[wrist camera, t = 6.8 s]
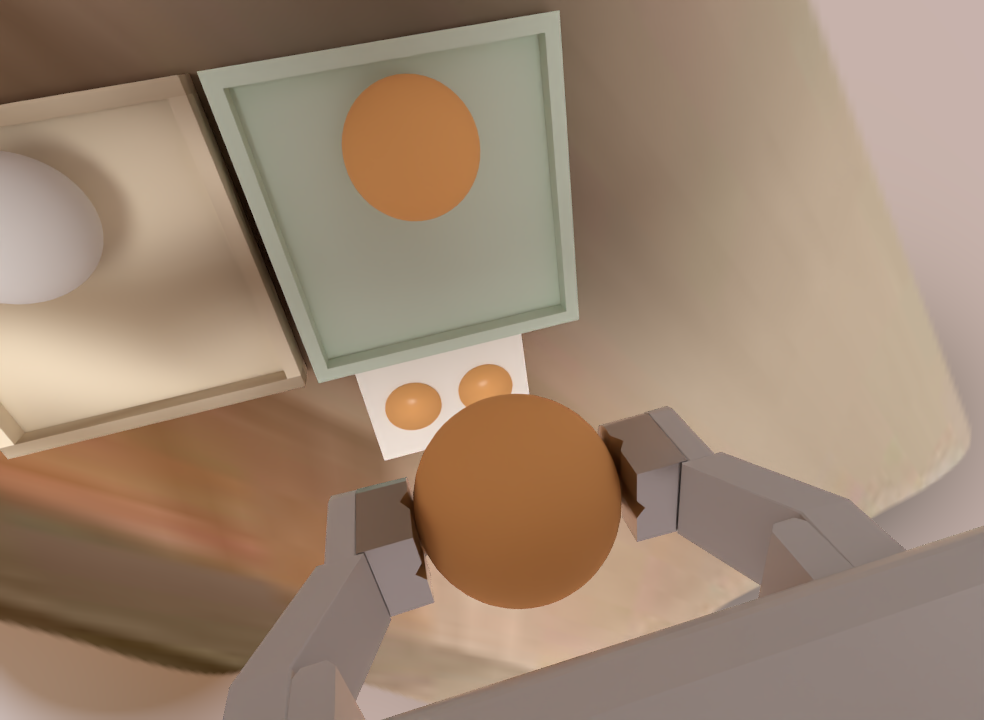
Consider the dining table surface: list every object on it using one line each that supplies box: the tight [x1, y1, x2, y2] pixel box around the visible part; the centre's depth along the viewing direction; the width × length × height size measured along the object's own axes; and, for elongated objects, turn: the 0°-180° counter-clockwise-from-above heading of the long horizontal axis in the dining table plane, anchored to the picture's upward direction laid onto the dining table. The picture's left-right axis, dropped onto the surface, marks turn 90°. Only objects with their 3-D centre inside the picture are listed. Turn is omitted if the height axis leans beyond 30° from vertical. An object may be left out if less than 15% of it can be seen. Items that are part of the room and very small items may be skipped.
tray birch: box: [0, 74, 308, 459], centre depth 17 cm, size 10×10×1 cm
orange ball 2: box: [413, 394, 622, 609], centre depth 10 cm, size 4×4×4 cm
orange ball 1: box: [342, 74, 480, 221], centre depth 15 cm, size 4×4×4 cm
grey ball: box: [0, 151, 103, 304], centre depth 14 cm, size 4×4×4 cm
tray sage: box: [197, 10, 579, 383], centre depth 18 cm, size 10×10×1 cm
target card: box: [355, 334, 529, 460], centre depth 23 cm, size 5×7×1 cm
